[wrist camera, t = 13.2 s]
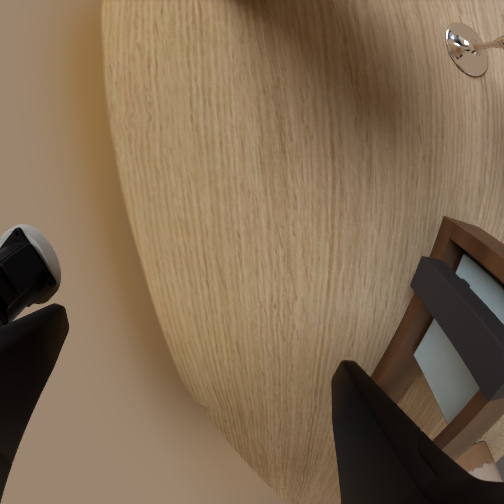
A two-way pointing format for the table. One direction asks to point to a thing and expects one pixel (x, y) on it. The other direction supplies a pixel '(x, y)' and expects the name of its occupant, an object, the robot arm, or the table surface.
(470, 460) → the vase
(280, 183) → the table surface
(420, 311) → the window frame
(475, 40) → the wineglass
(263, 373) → the table surface
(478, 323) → the pane
